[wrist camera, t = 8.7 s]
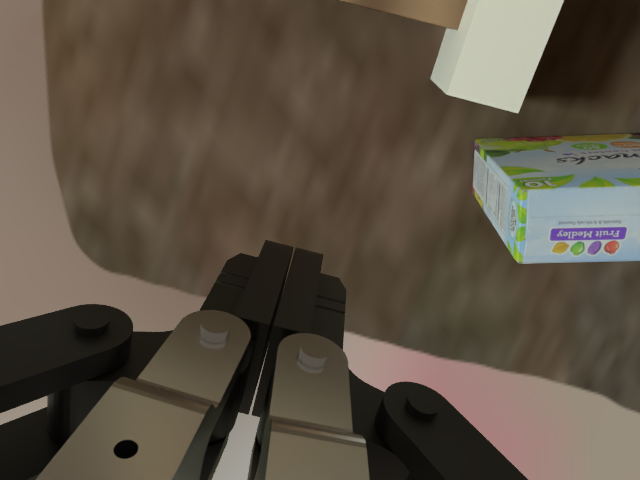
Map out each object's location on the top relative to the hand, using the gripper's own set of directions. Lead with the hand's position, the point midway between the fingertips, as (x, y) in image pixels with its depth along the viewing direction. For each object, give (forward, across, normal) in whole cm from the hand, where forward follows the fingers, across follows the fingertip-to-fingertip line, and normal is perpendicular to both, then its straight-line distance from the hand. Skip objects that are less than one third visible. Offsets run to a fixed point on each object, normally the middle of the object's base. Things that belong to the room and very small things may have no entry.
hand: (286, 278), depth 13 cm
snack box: (+33, -23, 0) cm, 40 cm away
